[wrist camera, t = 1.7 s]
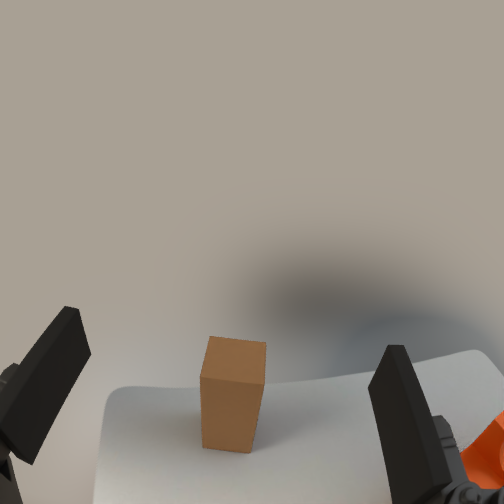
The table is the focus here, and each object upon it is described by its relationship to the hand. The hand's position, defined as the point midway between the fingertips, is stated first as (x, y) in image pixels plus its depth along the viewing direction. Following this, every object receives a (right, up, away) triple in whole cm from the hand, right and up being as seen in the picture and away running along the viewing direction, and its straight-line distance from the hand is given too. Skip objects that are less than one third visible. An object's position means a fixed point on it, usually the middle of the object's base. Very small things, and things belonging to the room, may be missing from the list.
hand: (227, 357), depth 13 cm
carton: (-1, -15, +18) cm, 24 cm away
